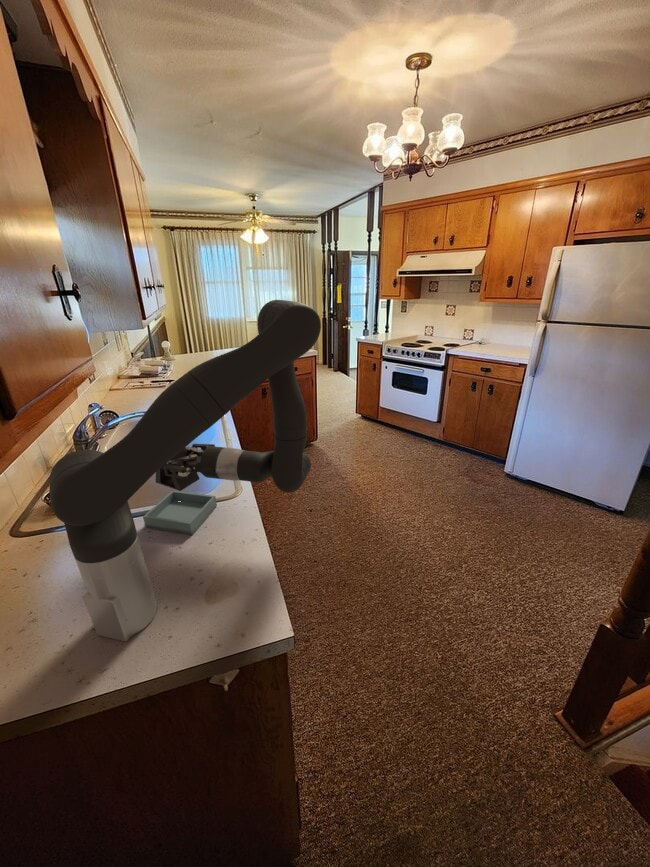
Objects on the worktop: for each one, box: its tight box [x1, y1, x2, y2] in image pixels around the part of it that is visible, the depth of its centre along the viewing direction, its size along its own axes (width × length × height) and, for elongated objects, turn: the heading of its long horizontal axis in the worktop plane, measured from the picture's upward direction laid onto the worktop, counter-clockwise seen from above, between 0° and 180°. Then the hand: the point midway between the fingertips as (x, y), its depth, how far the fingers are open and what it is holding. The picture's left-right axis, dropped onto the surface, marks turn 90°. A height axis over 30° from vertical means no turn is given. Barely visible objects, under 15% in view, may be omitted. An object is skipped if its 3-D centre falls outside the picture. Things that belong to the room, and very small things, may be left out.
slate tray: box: [142, 490, 218, 536], centre depth 92 cm, size 12×13×4 cm
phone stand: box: [155, 446, 200, 492], centre depth 86 cm, size 9×6×12 cm, turn 62°
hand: (164, 456), depth 86 cm, fingers closed on phone stand, 6 cm apart
